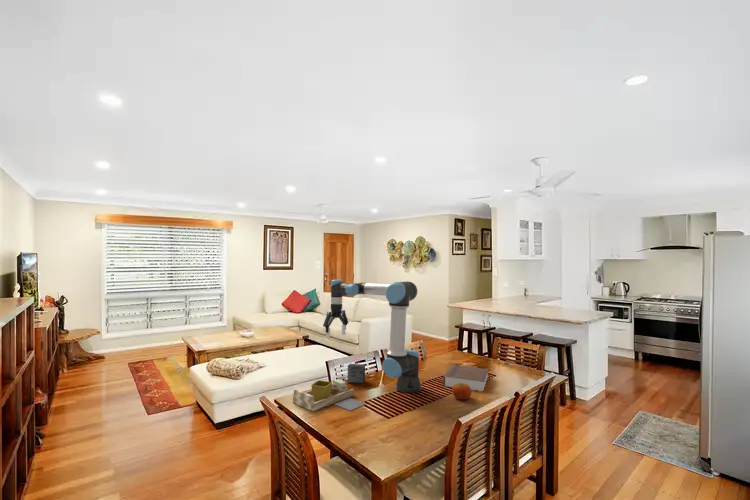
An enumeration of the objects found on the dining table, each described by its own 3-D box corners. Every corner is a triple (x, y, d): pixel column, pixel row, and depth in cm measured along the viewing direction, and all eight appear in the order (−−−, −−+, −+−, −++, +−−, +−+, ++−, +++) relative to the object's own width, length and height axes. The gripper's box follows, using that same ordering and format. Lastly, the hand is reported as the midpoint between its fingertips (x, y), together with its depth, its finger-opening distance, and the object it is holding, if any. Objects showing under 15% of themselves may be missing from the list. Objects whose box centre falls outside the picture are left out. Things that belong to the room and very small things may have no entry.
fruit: (458, 393, 222) (459, 379, 222) (474, 398, 214) (474, 384, 214) (448, 398, 214) (448, 383, 214) (464, 403, 207) (464, 388, 207)
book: (443, 386, 234) (443, 376, 234) (451, 374, 260) (451, 364, 260) (484, 392, 225) (484, 381, 225) (488, 379, 251) (488, 369, 251)
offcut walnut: (348, 396, 215) (348, 390, 215) (343, 398, 212) (343, 392, 212) (334, 390, 223) (334, 385, 223) (329, 392, 220) (329, 387, 220)
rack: (354, 395, 215) (354, 383, 215) (312, 411, 192) (313, 397, 192) (334, 388, 226) (334, 376, 226) (292, 402, 203) (293, 389, 203)
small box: (365, 380, 241) (365, 364, 242) (363, 384, 235) (364, 367, 235) (348, 379, 242) (349, 363, 243) (347, 383, 236) (347, 366, 236)
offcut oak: (347, 389, 216) (347, 385, 217) (342, 391, 213) (342, 387, 213) (334, 386, 223) (334, 381, 223) (329, 387, 219) (329, 383, 219)
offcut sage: (345, 385, 216) (345, 382, 216) (340, 387, 214) (340, 383, 214) (338, 382, 221) (338, 379, 221) (333, 383, 219) (333, 380, 219)
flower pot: (332, 398, 210) (332, 382, 210) (325, 403, 202) (325, 387, 202) (318, 396, 213) (318, 379, 213) (310, 401, 205) (310, 384, 205)
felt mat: (366, 404, 202) (366, 403, 202) (350, 411, 193) (350, 410, 193) (349, 398, 210) (349, 397, 210) (334, 404, 201) (334, 404, 201)
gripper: (346, 301, 259) (345, 332, 259) (317, 304, 240) (317, 337, 240) (354, 302, 254) (353, 334, 254) (325, 305, 235) (324, 339, 235)
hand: (335, 336), depth 247 cm, fingers open, 13 cm apart
